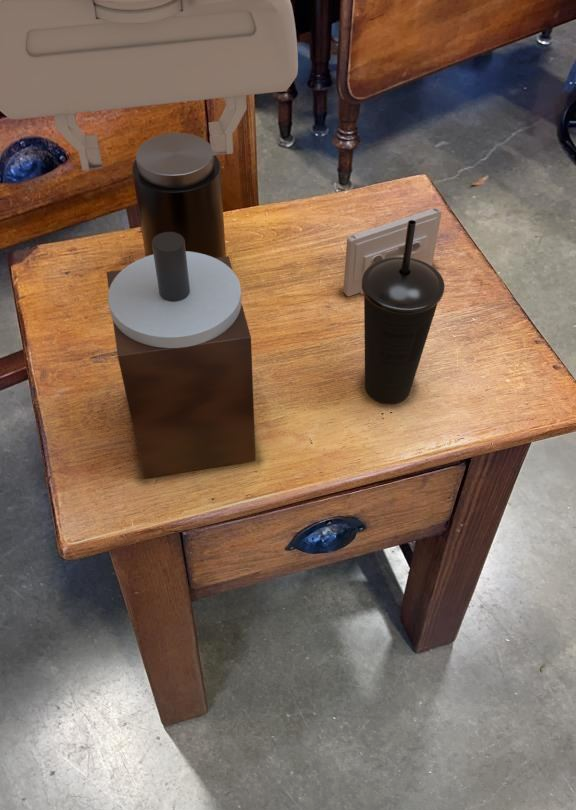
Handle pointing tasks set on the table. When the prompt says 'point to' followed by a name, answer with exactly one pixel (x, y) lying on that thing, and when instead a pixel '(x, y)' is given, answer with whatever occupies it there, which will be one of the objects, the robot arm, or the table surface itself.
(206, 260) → the lid
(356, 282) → the cassette
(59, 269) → the table surface
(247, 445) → the riser
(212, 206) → the thermos
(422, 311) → the drinking cup
